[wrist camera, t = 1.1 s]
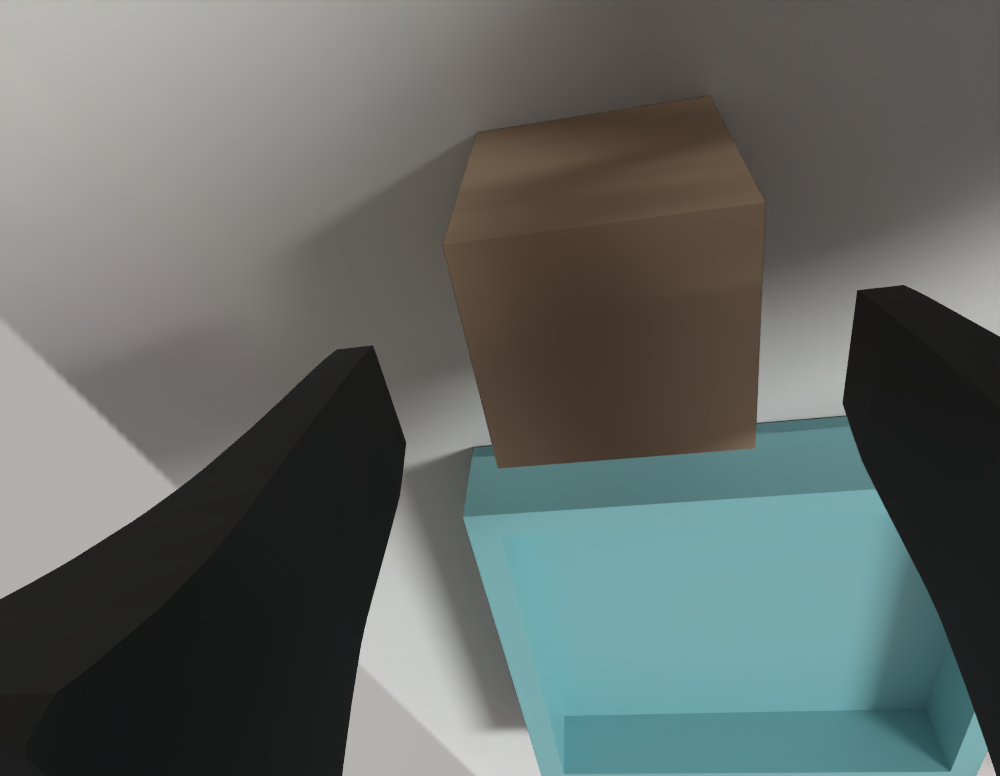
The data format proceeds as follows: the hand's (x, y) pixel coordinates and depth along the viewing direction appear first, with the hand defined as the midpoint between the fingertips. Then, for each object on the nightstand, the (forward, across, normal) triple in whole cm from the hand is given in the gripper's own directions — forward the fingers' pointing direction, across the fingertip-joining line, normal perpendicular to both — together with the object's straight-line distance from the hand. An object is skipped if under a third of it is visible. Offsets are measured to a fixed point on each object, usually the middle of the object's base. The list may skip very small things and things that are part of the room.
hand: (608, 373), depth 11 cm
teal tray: (+5, -3, +13) cm, 14 cm away
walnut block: (+5, 0, 0) cm, 5 cm away
